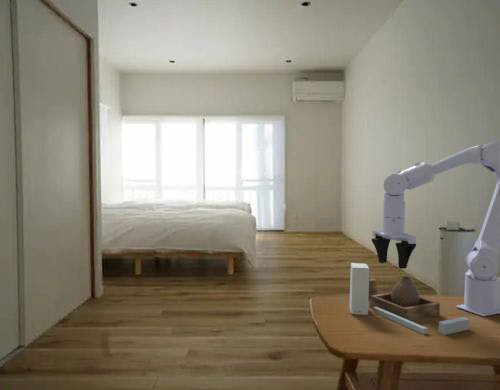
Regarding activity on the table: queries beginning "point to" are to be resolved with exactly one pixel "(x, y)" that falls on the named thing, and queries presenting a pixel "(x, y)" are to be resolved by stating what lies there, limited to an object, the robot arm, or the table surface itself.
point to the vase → (405, 293)
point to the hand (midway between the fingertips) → (392, 265)
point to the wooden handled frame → (410, 313)
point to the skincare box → (359, 289)
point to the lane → (444, 327)
